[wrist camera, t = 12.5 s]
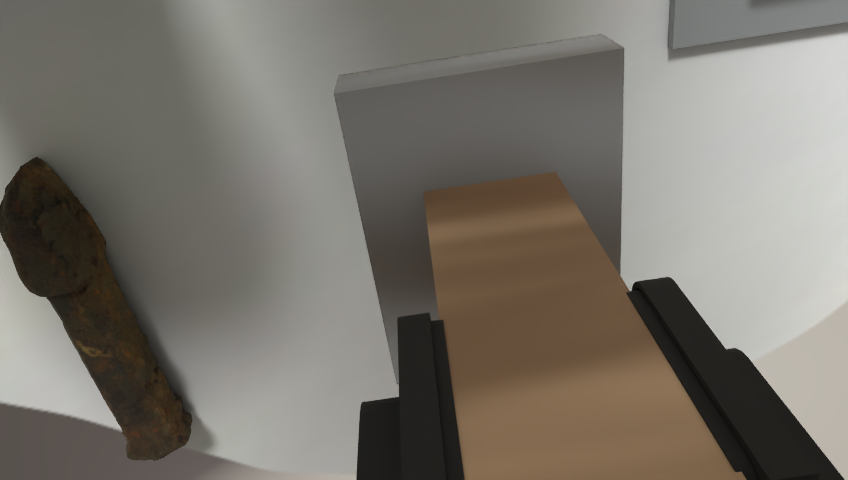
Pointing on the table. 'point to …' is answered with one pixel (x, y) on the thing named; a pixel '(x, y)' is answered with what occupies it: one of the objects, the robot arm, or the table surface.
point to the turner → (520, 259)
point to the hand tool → (90, 307)
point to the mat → (747, 18)
